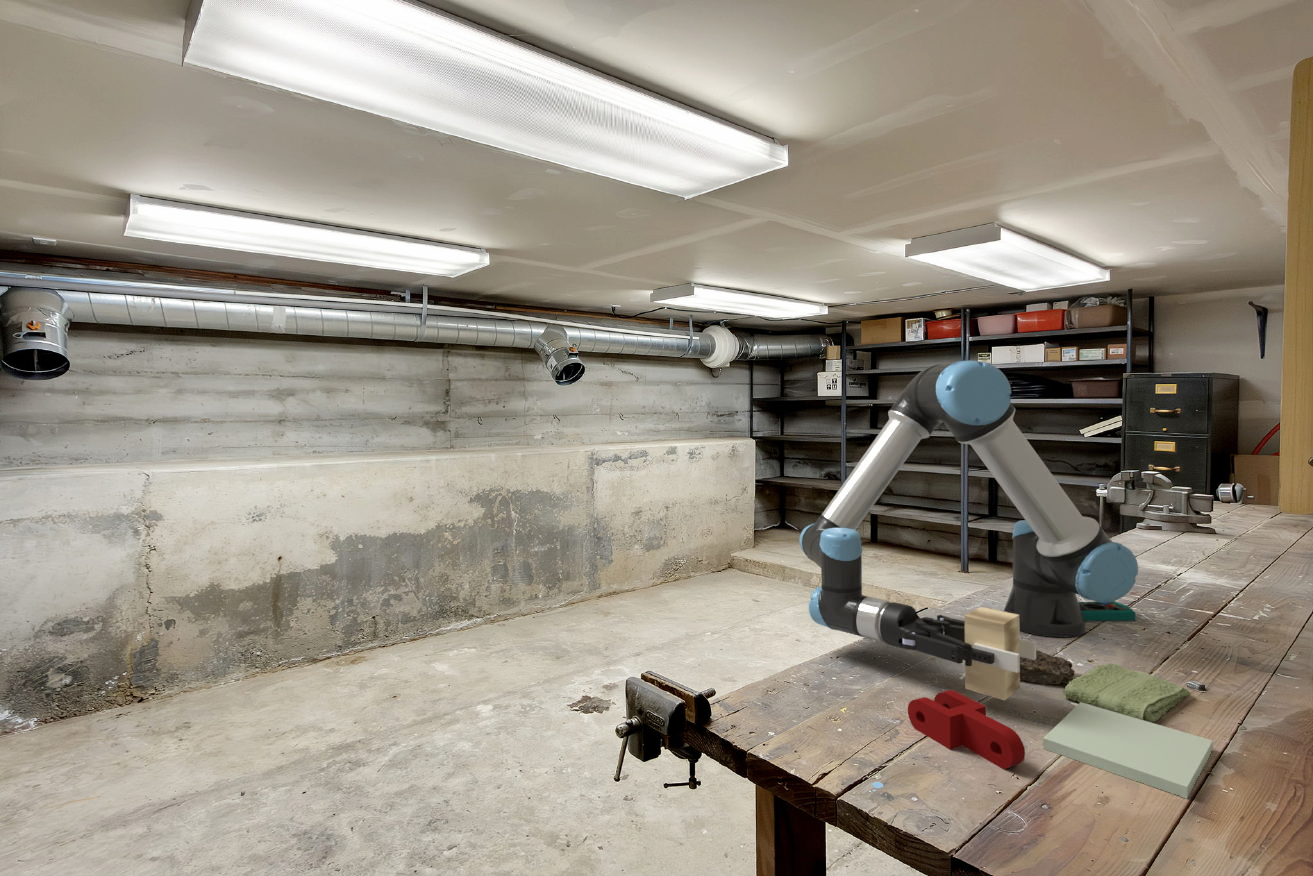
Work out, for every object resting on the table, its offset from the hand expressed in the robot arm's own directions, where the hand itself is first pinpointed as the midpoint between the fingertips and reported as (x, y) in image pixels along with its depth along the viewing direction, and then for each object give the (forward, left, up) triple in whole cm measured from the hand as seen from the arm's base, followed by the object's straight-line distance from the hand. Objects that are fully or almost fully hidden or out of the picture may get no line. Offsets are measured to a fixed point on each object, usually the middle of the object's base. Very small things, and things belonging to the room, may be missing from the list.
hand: (1026, 657), depth 100 cm
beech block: (0, -5, -7) cm, 8 cm away
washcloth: (-19, +8, -10) cm, 23 cm away
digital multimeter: (-61, -8, -10) cm, 62 cm away
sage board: (0, +13, -10) cm, 16 cm away
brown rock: (-17, -5, -10) cm, 21 cm away
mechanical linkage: (+14, -3, -10) cm, 18 cm away
